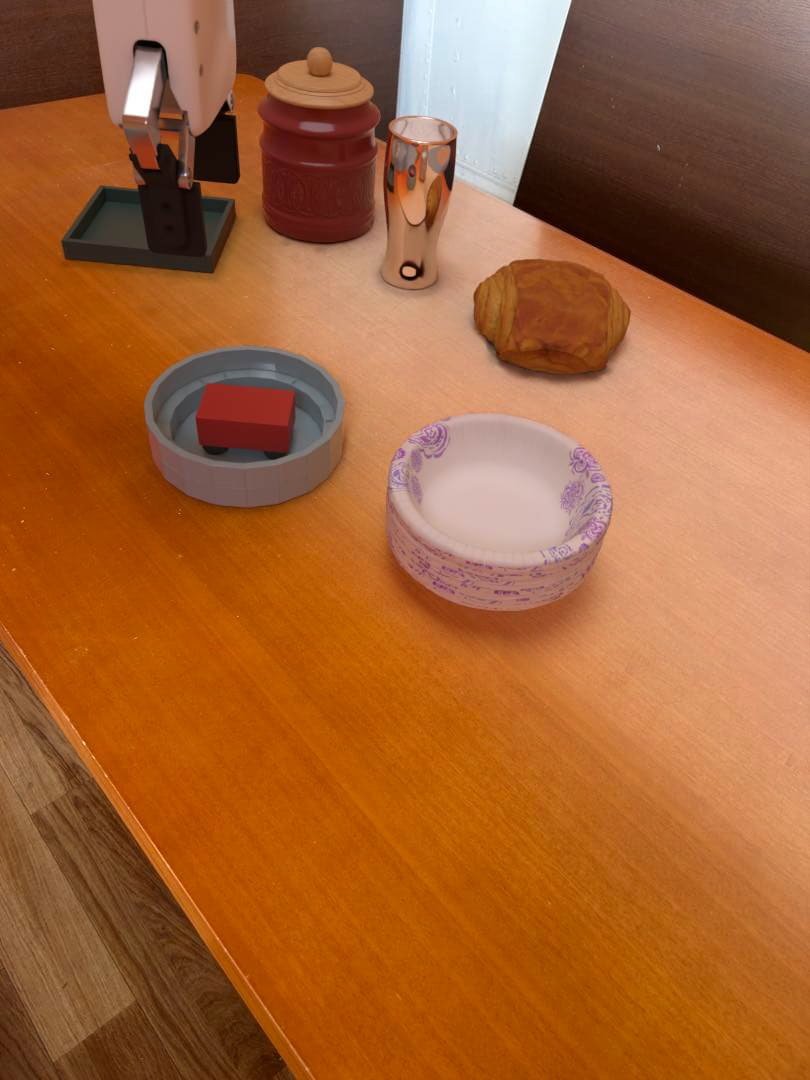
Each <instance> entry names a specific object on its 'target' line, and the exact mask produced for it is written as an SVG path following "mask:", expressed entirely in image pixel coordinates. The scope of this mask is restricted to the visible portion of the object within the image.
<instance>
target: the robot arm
mask: <svg viewBox="0 0 810 1080" xmlns="http://www.w3.org/2000/svg"><path fill="white" fill-rule="evenodd" d="M91 1H92V2H91V3H92V9H93V15H94V24H95V31H96V39H97V46H98V52H99V59H100V66H101V67H100V68H101V73H102V81H103V87H104V93H105V100H106V106H107V112H108V117H109V119H110V121H111V122H112V124H113V125H114V126H115V127H116V128H117V129H119V130H123V132H124V135H125V137H126V139H127V143H128V145H129V148H128V150H129V153H128V159H129V161H130V162H131V163H132V166H133V178H134V182H135V185H137V189H138V191H139V197H140V203H141V208H142V214H143V220H144V226H145V232H146V238H147V244H148V248H149V249H150V251H152V252H153V253H158V254H169V255H180V256H190V257H203V256H204V255H205V253H206V251H207V239H206V230H205V221H204V212H203V203H202V196H203V194H202V187H201V185H202V184H201V182H206V183H207V182H208V183H219V184H229V185H236V184H237V183H238V182H239V181H240V178H241V167H240V153H239V141H238V140H239V139H238V125H237V115H235V114H233V113H234V111H235V94H234V91H233V87H234V85H235V81H236V76H237V38H236V36H237V35H236V34H237V33H236V22H235V21H236V18H235V7H234V6H235V5H234V0H91ZM226 113H227V114H226ZM160 114H171V115H180V116H181V119H180V118H172V117H161V116H160ZM162 138H164V139H173V140H174V139H175V140H178V148H177V157H176V155H175V153H174V152H173V150H172V148H171V147H170V145H169V143H162Z"/></svg>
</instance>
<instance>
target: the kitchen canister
mask: <svg viewBox="0 0 810 1080" xmlns="http://www.w3.org/2000/svg"><path fill="white" fill-rule="evenodd" d="M264 88H265V90H266V92H267V93H268V94H266V95H265V96H263V97H262V98H261V99H260V100H259V102H258V104H257V113H258V116H259V117H260V118H261V120H262V121H263V122H262V124H263V127H262V132H261V134H260V135H259V138H258V144H259V147H260V152H261V155H260V156H261V174H262V175H261V176H262V193H261V200H262V202H261V206H262V210H263V212H264V217H265V221H266V222H267V223H268V225H269V226H270V227H271V228H272V229H273V230H275V231H276V232H278V233H280V234H282V235H284V236H286V237H288V238H292V239H295V240H299V241H304V242H310V243H311V242H312V243H336V242H337V243H338V242H343V241H344V242H345V241H348V240H351V239H354V238H356V237H359V236H361V235H363V234H364V233H366V232H367V231H368V230H369V229H370V227H371V226H372V223H373V217H374V215H375V213H376V198H375V191H376V190H375V189H376V188H375V187H376V170H377V155H378V153H379V143H378V141H377V139H376V138H375V137H376V135H375V133H376V132H375V130H376V129H375V128H376V127H377V126H378V124H379V123H380V120H381V112H380V110H379V108H378V107H377V105H376V104H375V103H374V102H372V101H371V99H372V98H373V96H374V92H375V91H374V86H373V85H372V84H371V83H370V82H369V81H368V80H367V79H366V78H365V77H364V76H363V77H362V76H361V73H360V72H358V71H357V70H356V69H354V68H353V67H351V66H348V65H347V64H342V63H341V62H335V61H333V57H332V55H331V53H330V51H329V50H328V49H326V48H325V47H322V46H316V47H313V48H311V49H310V50H309V52H308V53H307V56H306V59H301V60H294V61H291V62H287V63H284V64H282V66H280V67H278V70H276V71H274V72H272V73H271V74H269V75H268V76H267V77H266V78H265V80H264Z"/></svg>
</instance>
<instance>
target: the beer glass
mask: <svg viewBox="0 0 810 1080" xmlns="http://www.w3.org/2000/svg"><path fill="white" fill-rule="evenodd" d="M387 132H388V133H387V140H386V147H385V153H384V161H383V178H382V189H383V206H384V212H385V222H386V248H385V254H384V257H383V259H382V264H381V269H380V272H381V273H380V274H381V277H382V278H383V279H384V281H385V282H387V283H388V284H390V285H391V286H394V287H396V288H400V289H405V290H421V289H426V288H428V287H431V286H432V285H433V284H435V283H436V281H437V279H438V262H437V261H438V260H437V254H438V253H437V252H438V251H437V250H438V244H439V239H440V235H441V231H442V228H443V225H444V221H445V218H446V215H447V212H448V208H449V205H450V201H451V198H452V193H453V188H454V182H455V175H456V165H457V146H458V136H459V135H458V134H459V133H458V132H459V131H458V130H457V128H456V127H455V126H454V125H453V124H451V123H450V122H448V121H446V120H443V119H440V118H437V117H433V116H426V115H405V116H404V115H403V116H400V117H397V118H395V119H393V120H391V121H390V122H389V124H388V131H387Z"/></svg>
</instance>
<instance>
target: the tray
mask: <svg viewBox="0 0 810 1080" xmlns="http://www.w3.org/2000/svg"><path fill="white" fill-rule="evenodd" d="M202 203H203V212H204V221H205V230H206V239H207V251H206V253H205V255H204V256H203V257H190V256H180V255H169V254H158V253H153V252H152V251H150V249H149V248H148V244H147V238H146V232H145V226H144V220H143V214H142V208H141V203H140V197H139V191H138V188H132V187H131V188H130V187H123V186H113V185H103V184H100V185H99V186H98V187H97V189H96V190H95V192H94V193H93V194H92V196H91V197H90V199H89V200H88V201H87V202H86V204H85V206H84V207H83V208H82V210H81V211H80V213H79V214H78V216H77V217H76V218H75V220H74V221H73V223H72V224H71V226H70V227H68V230H67V231H66V233H65V234H64V235H63V236H62V238H61V240H60V242H61V247H62V250H63V255H64V258H65V259H67V260H77V261H87V262H96V263H97V262H98V263H107V264H115V265H116V264H117V265H125V266H127V265H128V266H137V267H149V268H157V269H158V268H159V269H168V270H177V271H188V272H197V273H208V274H214V271H215V269H216V266H217V263H218V261H219V259H220V256H221V254H222V251H223V249H224V246H225V244H226V241H227V239H228V237H229V234H230V231H231V229H232V226H233V224H234V221H235V219H236V216H237V211H236V210H237V209H236V199H235V198H229V197H220V196H209V195H202Z"/></svg>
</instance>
